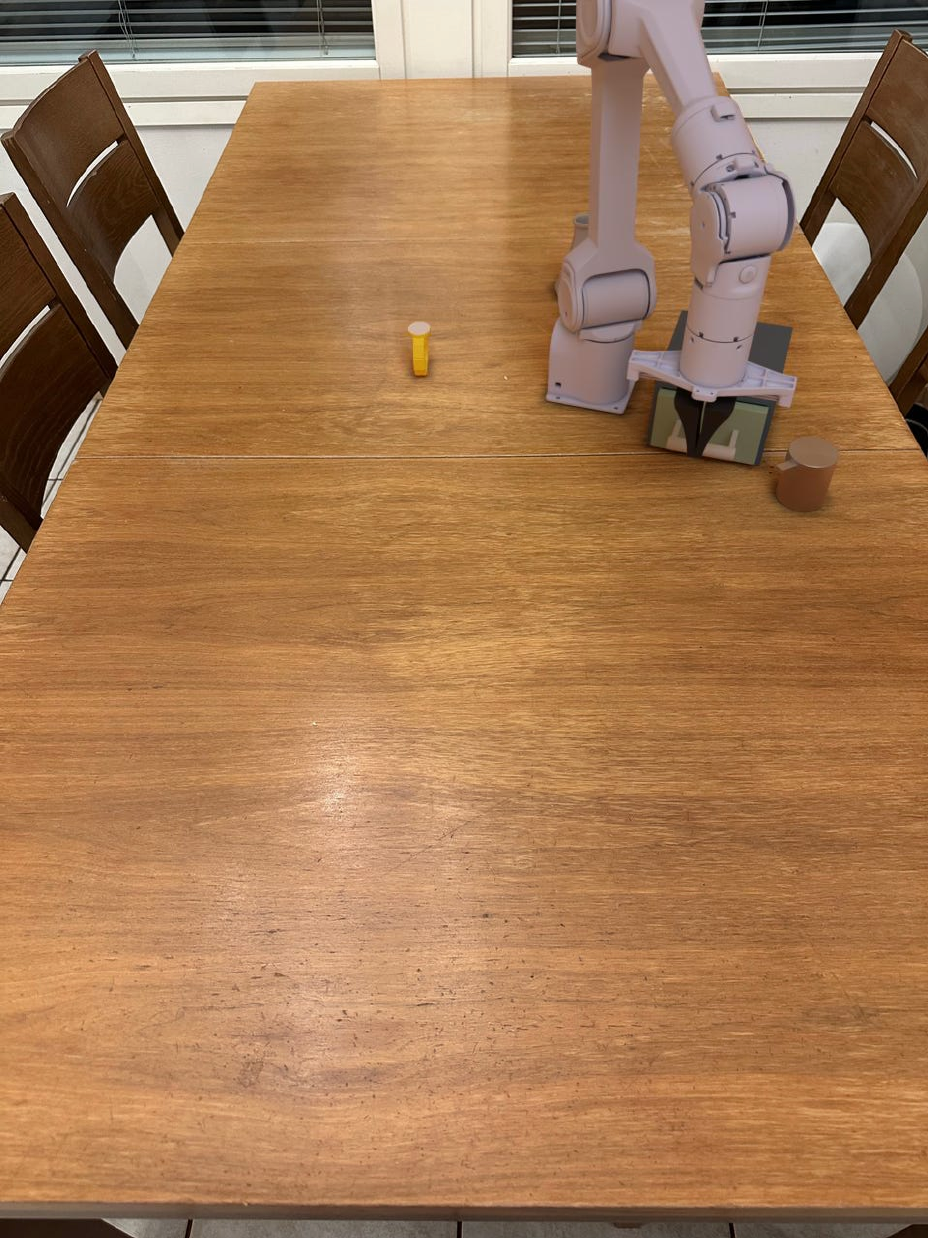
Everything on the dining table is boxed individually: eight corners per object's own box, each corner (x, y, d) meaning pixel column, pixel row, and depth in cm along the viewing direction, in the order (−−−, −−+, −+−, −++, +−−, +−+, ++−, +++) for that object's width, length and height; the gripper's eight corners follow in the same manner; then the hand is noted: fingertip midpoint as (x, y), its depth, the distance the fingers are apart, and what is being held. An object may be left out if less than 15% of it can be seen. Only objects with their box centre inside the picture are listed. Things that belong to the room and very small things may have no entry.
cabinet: (759, 465, 104) (776, 400, 98) (646, 444, 107) (655, 379, 101) (776, 390, 113) (793, 326, 107) (671, 373, 116) (681, 309, 110)
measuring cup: (803, 475, 103) (817, 430, 98) (834, 502, 100) (849, 457, 95) (752, 494, 101) (764, 449, 97) (782, 522, 98) (796, 477, 93)
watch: (412, 355, 120) (409, 313, 116) (434, 355, 120) (432, 313, 115) (409, 383, 116) (405, 340, 112) (431, 383, 116) (428, 340, 112)
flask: (603, 306, 127) (610, 233, 119) (550, 301, 128) (553, 229, 120) (609, 278, 131) (616, 207, 124) (557, 274, 132) (561, 203, 125)
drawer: (747, 491, 100) (761, 439, 95) (641, 470, 103) (648, 419, 98) (770, 394, 111) (783, 343, 106) (673, 378, 114) (682, 327, 109)
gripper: (625, 335, 79) (611, 462, 89) (803, 364, 76) (767, 493, 86) (643, 293, 84) (627, 418, 94) (812, 318, 80) (777, 446, 90)
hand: (695, 451), depth 90 cm, fingers closed
